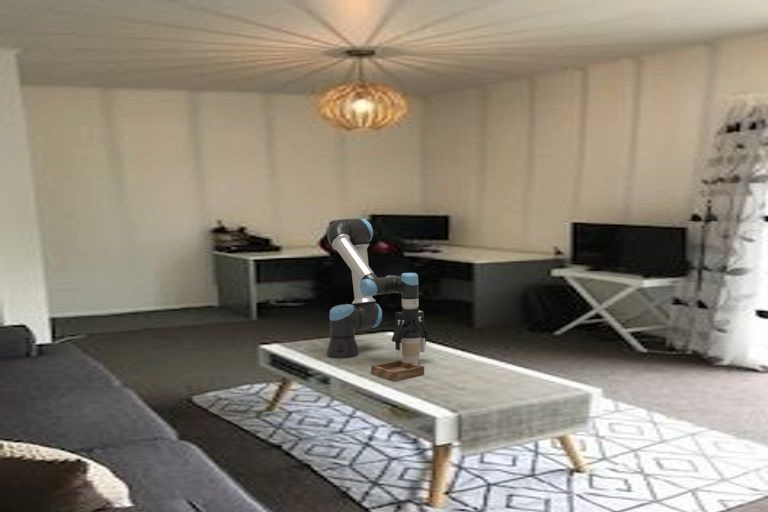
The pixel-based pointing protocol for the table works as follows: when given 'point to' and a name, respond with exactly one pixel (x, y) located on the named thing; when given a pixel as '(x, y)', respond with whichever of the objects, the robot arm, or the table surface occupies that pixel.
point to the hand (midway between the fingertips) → (411, 354)
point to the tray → (397, 370)
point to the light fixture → (399, 317)
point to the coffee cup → (411, 346)
